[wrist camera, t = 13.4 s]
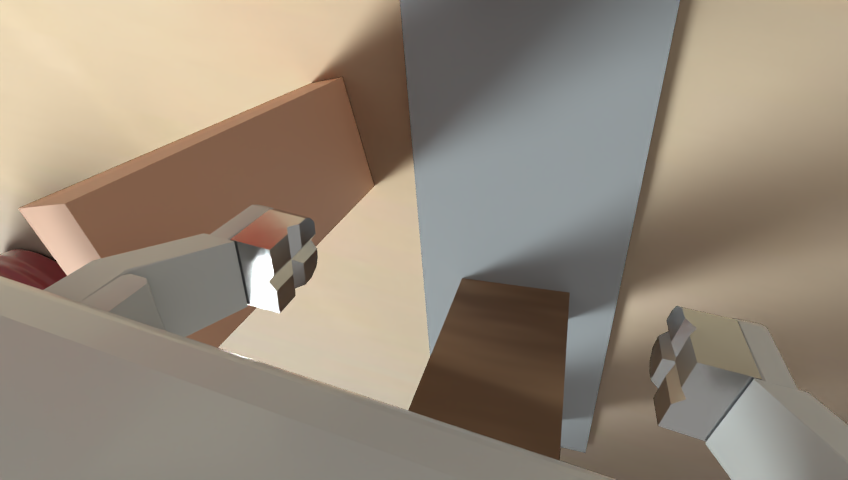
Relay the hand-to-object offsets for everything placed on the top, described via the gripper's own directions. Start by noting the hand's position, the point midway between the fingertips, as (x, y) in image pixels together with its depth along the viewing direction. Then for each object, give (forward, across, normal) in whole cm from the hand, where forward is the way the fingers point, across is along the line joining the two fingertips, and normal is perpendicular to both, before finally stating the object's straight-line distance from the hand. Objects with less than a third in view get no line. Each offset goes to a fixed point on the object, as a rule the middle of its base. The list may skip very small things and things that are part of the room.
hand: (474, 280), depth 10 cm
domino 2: (+9, -1, +7) cm, 11 cm away
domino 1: (+9, +8, +1) cm, 12 cm away
